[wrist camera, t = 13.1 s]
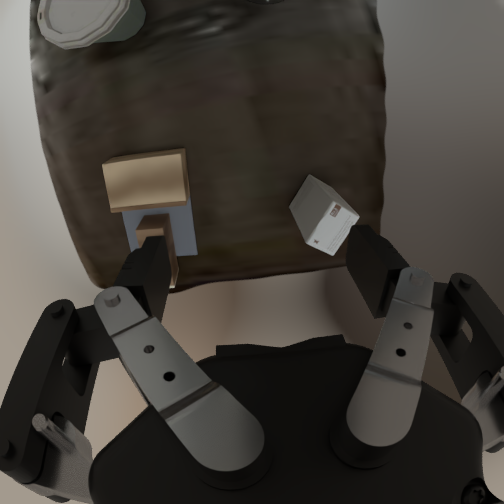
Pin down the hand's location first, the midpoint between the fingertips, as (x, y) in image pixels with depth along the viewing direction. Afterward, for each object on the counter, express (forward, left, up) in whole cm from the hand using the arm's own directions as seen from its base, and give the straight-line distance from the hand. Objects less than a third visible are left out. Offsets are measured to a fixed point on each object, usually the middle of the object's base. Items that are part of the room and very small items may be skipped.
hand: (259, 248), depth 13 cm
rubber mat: (+13, -13, -30) cm, 35 cm away
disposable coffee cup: (-19, -15, -30) cm, 39 cm away
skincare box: (+9, +10, -30) cm, 33 cm away
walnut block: (+10, -13, -27) cm, 32 cm away
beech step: (+4, -13, -30) cm, 33 cm away
